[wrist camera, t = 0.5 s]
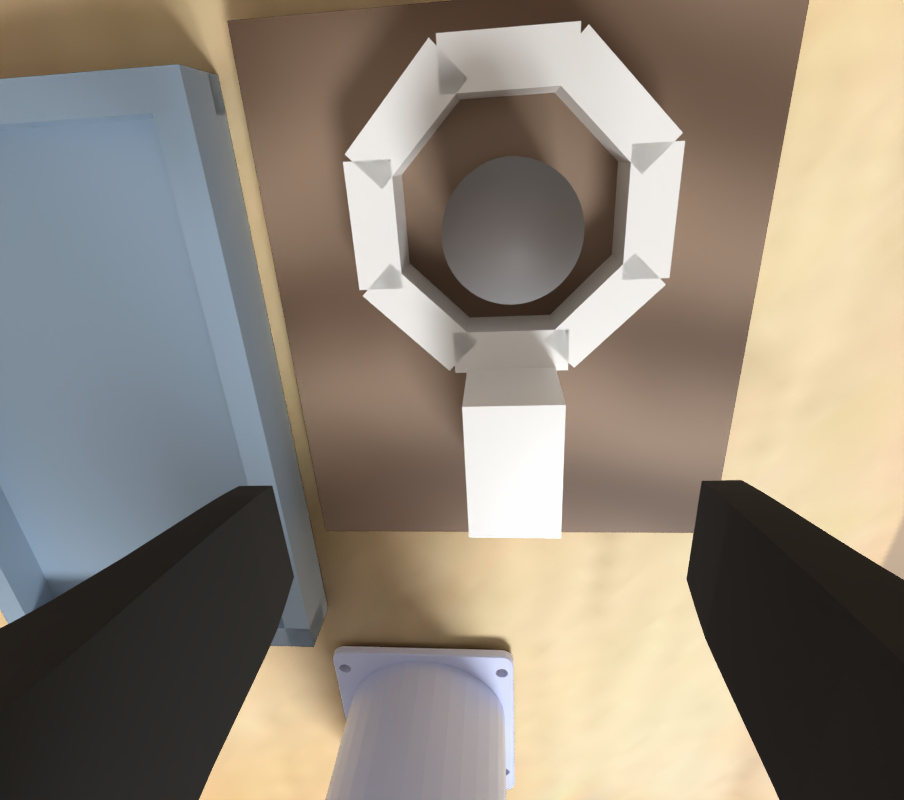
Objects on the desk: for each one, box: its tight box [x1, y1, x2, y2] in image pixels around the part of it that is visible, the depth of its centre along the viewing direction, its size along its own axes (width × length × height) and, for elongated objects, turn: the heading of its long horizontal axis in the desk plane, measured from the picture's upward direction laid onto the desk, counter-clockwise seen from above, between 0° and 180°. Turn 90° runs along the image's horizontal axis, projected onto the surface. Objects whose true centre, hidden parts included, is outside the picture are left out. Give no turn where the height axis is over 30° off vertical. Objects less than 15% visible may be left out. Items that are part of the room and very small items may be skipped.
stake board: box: [227, 0, 809, 533], centre depth 15 cm, size 16×14×5 cm
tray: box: [0, 64, 328, 647], centre depth 19 cm, size 20×13×2 cm, turn 3°
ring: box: [343, 21, 685, 538], centre depth 14 cm, size 12×8×4 cm
